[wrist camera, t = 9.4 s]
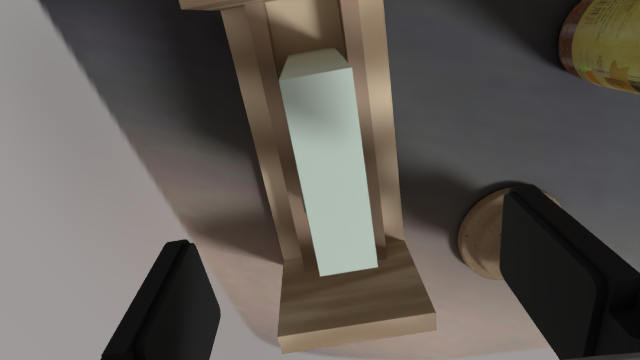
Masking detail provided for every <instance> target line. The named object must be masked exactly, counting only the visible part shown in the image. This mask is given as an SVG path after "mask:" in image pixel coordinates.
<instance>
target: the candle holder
mask: <svg viewBox="0 0 640 360" xmlns="http://www.w3.org/2000/svg"><path fill="white" fill-rule="evenodd" d="M518 187H519V186H518ZM511 188H513V187H509V188H505V189H502V190H499V191H496V192H494V193H492V194H490V195H488V196H486V197H485V198H483V199H482V200H480V201H479V202H478V203H477V204H475V205H474V206H473V207H472V209H471V210H470V211H469V212H468V213H467V215H466V216H465V218H464V220H463V222H462V224H461V226H460V229H459V233H458V248H459V252H460V254H461V256H462V258H463V260H464V262H465V263H466V264H467V266H468V267H469V268H470V269H471V270H472V271H474V272H475V273H477V274H478V275H480V276H482V277H485V278H488V279H493V280H504V278H503V277H502V275H501V272H500V267H499V263H500V246H501V230H502V214H503V199H504V195H505V194H506V193H509V191H510V189H511ZM541 191H542V190H541ZM542 192H543V193H544V194H545V195H547V196H548V197H549V198H550V199H551V200H553V201H554V202H555V203H556V204H557V205H559V206H560V207H561V208H562V206H561V205H560V204H559V203H558V201H557V200H556V199H554V198H553V197H552V196H550V195H549V194H548V193H546V192H544V191H542ZM562 209H563V208H562Z"/></svg>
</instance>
